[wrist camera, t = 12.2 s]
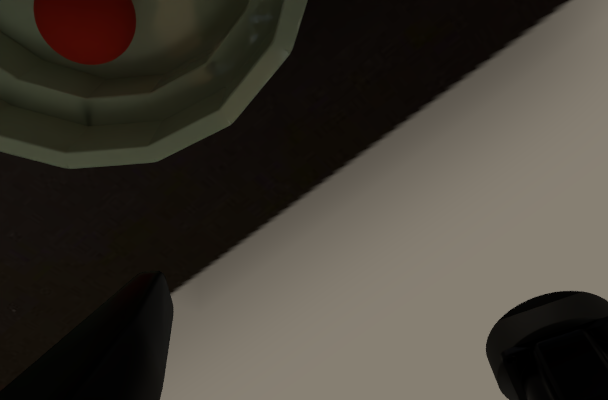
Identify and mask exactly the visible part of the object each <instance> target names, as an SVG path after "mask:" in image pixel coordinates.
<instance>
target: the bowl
mask: <svg viewBox="0 0 608 400" xmlns="http://www.w3.org/2000/svg"><path fill="white" fill-rule="evenodd" d="M307 1H308V0H132V3H133V5H134V9H135V13H136V29H135V34H134V37H133V40H132V42H131V43H130V45H129V47H128V48H127V49H126V51H125V52H123V53H122V54H121V55H120V56H119V57H117V58H116V59H114V60H112V61H109V62H107V63H103V64H98V65H86V64H80V63H76V62H73V61H71V60H68V59H66V58H64V57H63V56H61V55H59V54H58V53H57V52H56V51H54V50H53V49H52V48H51V47H50V46H49V45H48V44H47V43H46V41H45V40H44V39H43V37H42V36H41V34H40V32H39V30H38V28H37V25H36V22H35V18H34V10H33V7H34V0H0V152H4V153H8V154H12V155H16V156H19V157H23V158H27V159H31V160H35V161H39V162H43V163H46V164H50V165H54V166H58V167H62V168H69V169H76V168H89V167H102V166H115V165H128V164H141V163H153V162H158V161H160V160H162V159H164V158H166V157H168V156H170V155H172V154H174V153H176V152H178V151H180V150H182V149H184V148H186V147H188V146H190V145H192V144H194V143H196V142H198V141H200V140H202V139H204V138H206V137H208V136H210V135H212V134H214V133H216V132H218V131H220V130H222V129H224V128H226V127H228V126H230V125H231V124H232V123H234V122H235V120H236V119H237V118H238V117H239V116H240V114H241V113H242V112H243V111H244V110H245V108H246V107H247V106H248V105H249V104H250V102H251V101H252V100H253V99H254V97H255V96H256V95H257V94H258V93H259V91H260V90H261V89H262V88H263V87H264V85H265V84H266V83H267V82H268V81H269V79H270V78H271V77H272V76H273V75H274V73H275V72H276V71H277V70H278V69H279V67H280V66H281V65H282V64H283V63H284V61H285V60H286V59H287V58H288V57H289V55H290V54H291V51H292V50H293V47H294V44H295V40H296V37H297V34H298V31H299V27H300V24H301V21H302V18H303V14H304V11H305V8H306V5H307Z"/></svg>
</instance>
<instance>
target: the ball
mask: <svg viewBox="0 0 608 400" xmlns="http://www.w3.org/2000/svg"><path fill="white" fill-rule="evenodd" d="M33 10H34V18H35V22H36V25H37V28H38V30H39V32H40V34H41V36H42V37H43V39H44V40H45V41H46V43H47V44H48V45H49V46H50V47H51V48H52V49H53V50H54V51H56V52H57V53H58V54H59V55H61V56H63V57H64V58H66V59H68V60H71V61H73V62H76V63H80V64H86V65H98V64H103V63H107V62H109V61H112V60H114V59H116V58H117V57H119V56H120V55H121V54H122V53H123V52H125V51H126V49H127V48H128V47H129V45H130V43H131V42H132V40H133V37H134V34H135V29H136V13H135V9H134V5H133V3H132V0H34V7H33Z"/></svg>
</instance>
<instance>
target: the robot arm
mask: <svg viewBox="0 0 608 400" xmlns="http://www.w3.org/2000/svg"><path fill="white" fill-rule="evenodd" d="M172 321H173V303H172V299H171V296H170V292H169V289H168V285H167V282H166V278H165V276H164V274H163V273H162V272H160V271H150V272H141V273H139V274H137V275H136V276H135V277H134V278H133V279H132V280H130V281H129V282H128V283H127V284H126V285H124V286H123V287H122V288H121V289H120V290H119V291H117V292H116V293H115V294H114V295H113V296H112V297H110V298H109V299H108V300H107V301H106V302H105V303H103V304H102V305H101V306H100V307H99V308H97V309H96V310H95V311H94V312H93V313H92V314H90V315H89V316H88V317H87V318H86V319H85V320H83V321H82V322H81V323H80V324H79V325H78V326H76V327H75V328H74V329H73V330H72V331H71V332H69V333H68V334H67V335H66V336H65V337H63V338H62V339H61V340H60V341H59V342H58V343H56V344H55V345H54V346H53V347H52V348H51V349H49V350H48V351H47V352H46V353H45V354H44V355H42V356H41V357H40V358H39V359H38V360H37V361H35V362H34V363H33V364H32V365H31V366H29V367H28V368H27V369H26V370H25V371H24V372H22V373H21V374H20V375H19V376H18V377H17V378H15V379H14V380H13V381H12V382H11V383H10V384H8V385H7V386H6V387H5V388H4V389H2V390H1V391H0V400H160V397H161V392H162V387H163V382H164V376H165V368H166V361H167V355H168V348H169V341H170V334H171V327H172ZM500 357H501V360H502V362H503V364H504V366H505V369H506V371H507V373H508V375H509V378H510V380H511V382H512V384H513V387H514V389H515V391H516V393H517V395H518V398H519V400H608V316H607V317H604V318H601V319H598V320H594V321H591V322H588V323H585V324H582V325H579V326H576V327H573V328H570V329H567V330H564V331H561V332H558V333H555V334H552V335H549V336H545V337H542V338H539V339H536V340H533V341H530V342H527V343H524V344H521V345H518V346H515V347H512V348H509V349H506V350H504V351H503V352H502V353H501V354H500Z"/></svg>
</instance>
